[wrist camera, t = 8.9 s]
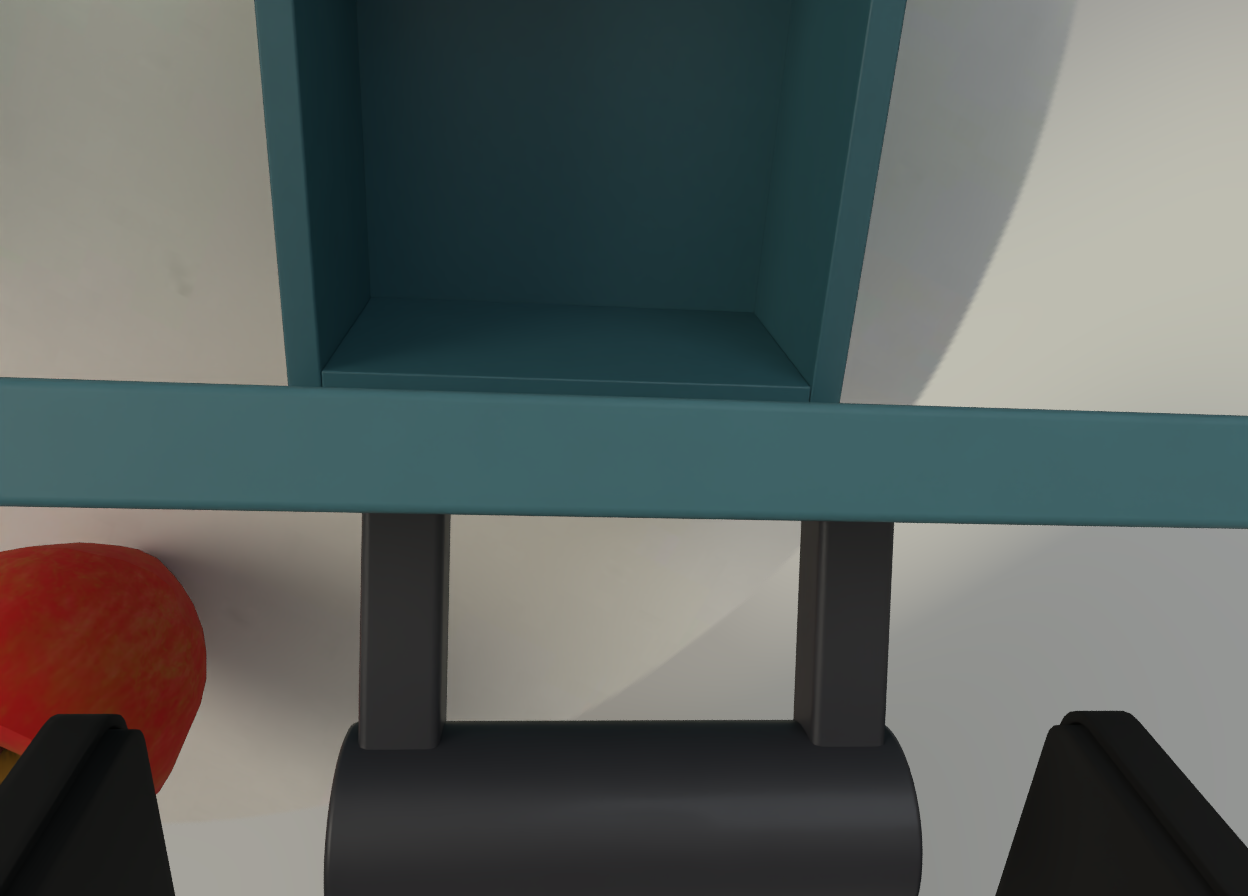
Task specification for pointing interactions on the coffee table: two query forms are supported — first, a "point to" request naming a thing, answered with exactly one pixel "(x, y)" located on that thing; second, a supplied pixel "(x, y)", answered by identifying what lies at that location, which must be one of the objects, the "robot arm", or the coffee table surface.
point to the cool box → (574, 191)
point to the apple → (97, 646)
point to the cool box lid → (631, 488)
